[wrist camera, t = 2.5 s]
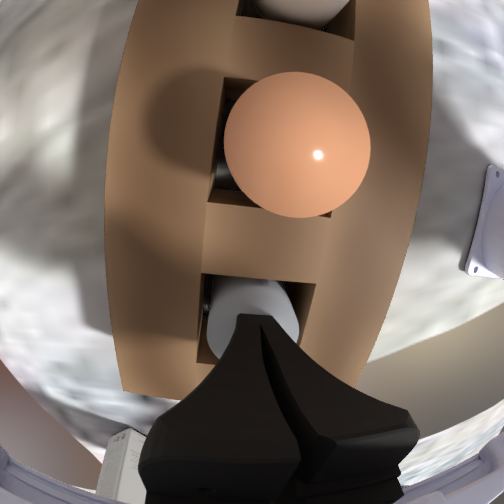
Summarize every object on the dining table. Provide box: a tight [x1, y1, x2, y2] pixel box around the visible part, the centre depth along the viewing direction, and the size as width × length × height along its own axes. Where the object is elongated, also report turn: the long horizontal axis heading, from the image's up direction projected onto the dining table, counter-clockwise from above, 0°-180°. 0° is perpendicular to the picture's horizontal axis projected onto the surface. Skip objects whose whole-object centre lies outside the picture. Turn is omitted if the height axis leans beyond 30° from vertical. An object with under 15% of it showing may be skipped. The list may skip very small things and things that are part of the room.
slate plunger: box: [207, 274, 299, 359], centre depth 13 cm, size 4×4×4 cm
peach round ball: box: [224, 72, 371, 218], centre depth 8 cm, size 4×4×4 cm
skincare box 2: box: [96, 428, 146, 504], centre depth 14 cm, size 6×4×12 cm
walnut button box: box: [104, 0, 433, 400], centre depth 11 cm, size 12×24×4 cm, turn 172°
